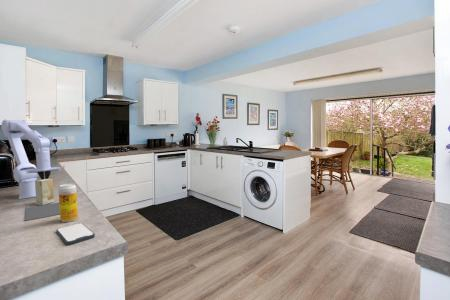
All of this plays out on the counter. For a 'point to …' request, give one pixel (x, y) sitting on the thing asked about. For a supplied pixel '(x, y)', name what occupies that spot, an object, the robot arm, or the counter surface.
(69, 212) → the beer can
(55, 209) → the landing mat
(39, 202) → the skincare box
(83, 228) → the phone case
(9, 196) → the counter surface
